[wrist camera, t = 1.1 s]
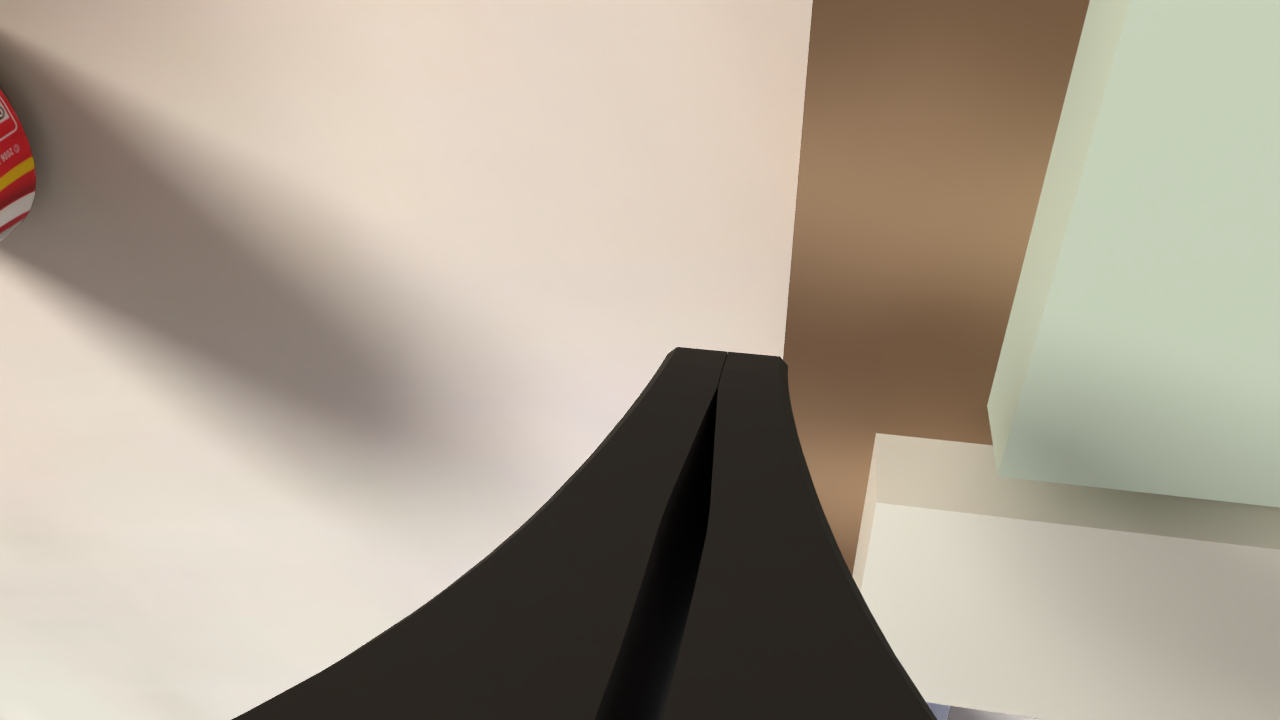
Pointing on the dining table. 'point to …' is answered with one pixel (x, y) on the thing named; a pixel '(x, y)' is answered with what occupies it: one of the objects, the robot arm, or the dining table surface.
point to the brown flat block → (914, 220)
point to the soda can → (14, 170)
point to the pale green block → (1154, 263)
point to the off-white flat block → (1068, 591)
